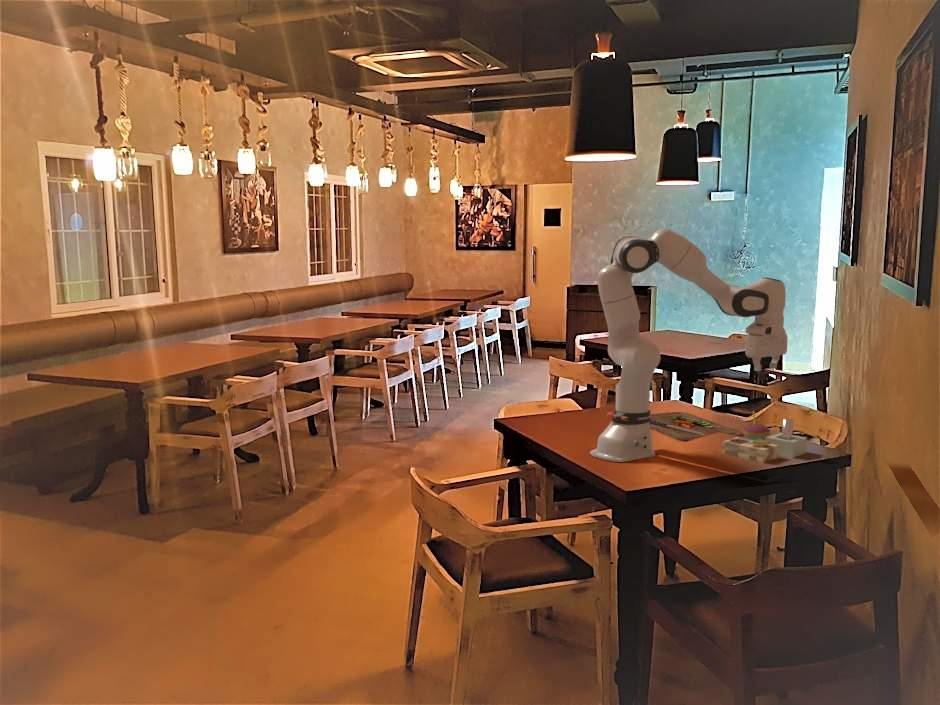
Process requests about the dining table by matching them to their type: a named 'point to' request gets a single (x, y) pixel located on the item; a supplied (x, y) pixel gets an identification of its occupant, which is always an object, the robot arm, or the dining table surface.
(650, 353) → the robot arm
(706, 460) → the dining table surface
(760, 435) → the cupcake
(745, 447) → the socket block
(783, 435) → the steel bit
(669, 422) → the chopping board
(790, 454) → the bit rack
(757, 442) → the drift key
